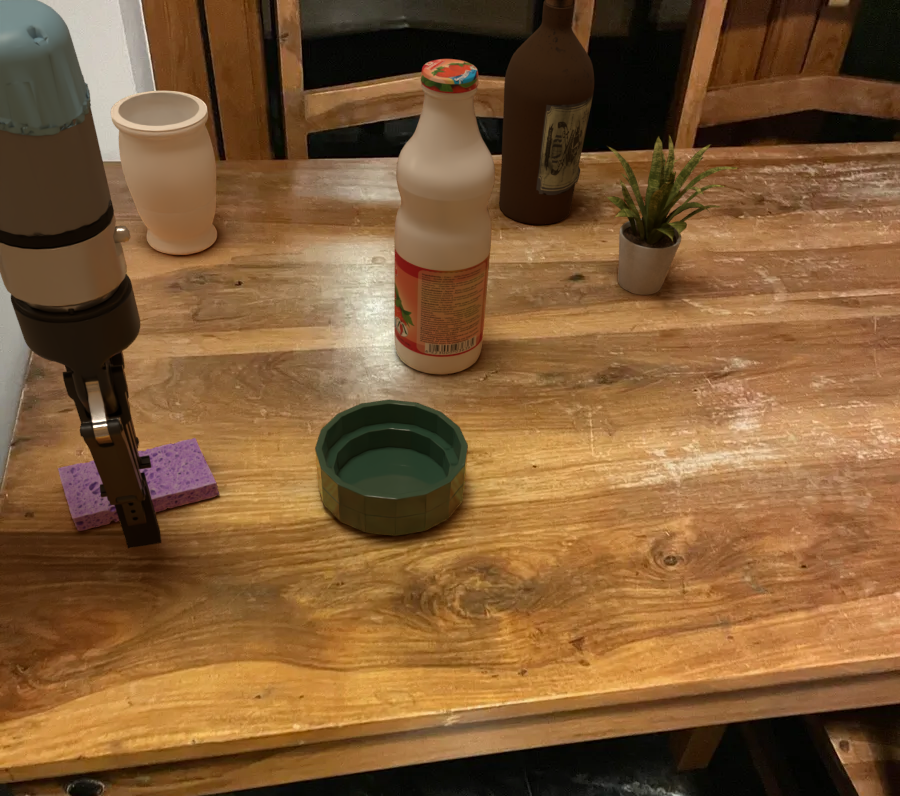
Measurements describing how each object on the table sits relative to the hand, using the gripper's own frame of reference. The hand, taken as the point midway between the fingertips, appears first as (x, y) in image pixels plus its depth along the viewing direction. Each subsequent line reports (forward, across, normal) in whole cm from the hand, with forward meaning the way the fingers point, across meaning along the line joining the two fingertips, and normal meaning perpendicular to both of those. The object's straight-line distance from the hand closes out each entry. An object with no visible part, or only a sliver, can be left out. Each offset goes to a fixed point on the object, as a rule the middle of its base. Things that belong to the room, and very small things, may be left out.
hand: (144, 539), depth 78 cm
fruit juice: (+2, +23, -32) cm, 40 cm away
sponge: (+2, +8, 0) cm, 8 cm away
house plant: (+2, +30, -60) cm, 67 cm away
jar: (+2, +52, -8) cm, 53 cm away
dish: (+2, +3, -22) cm, 22 cm away
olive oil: (+2, +51, -53) cm, 74 cm away
